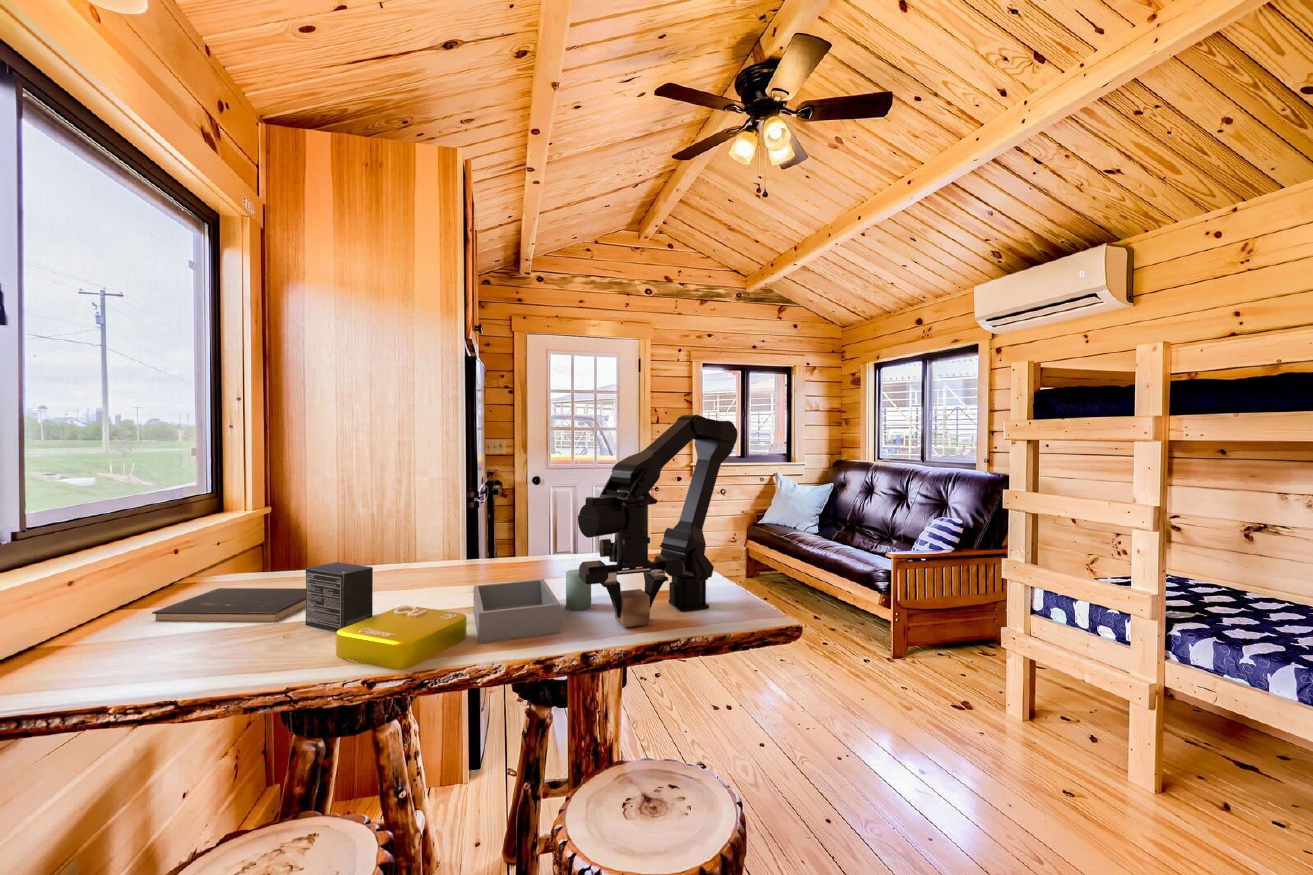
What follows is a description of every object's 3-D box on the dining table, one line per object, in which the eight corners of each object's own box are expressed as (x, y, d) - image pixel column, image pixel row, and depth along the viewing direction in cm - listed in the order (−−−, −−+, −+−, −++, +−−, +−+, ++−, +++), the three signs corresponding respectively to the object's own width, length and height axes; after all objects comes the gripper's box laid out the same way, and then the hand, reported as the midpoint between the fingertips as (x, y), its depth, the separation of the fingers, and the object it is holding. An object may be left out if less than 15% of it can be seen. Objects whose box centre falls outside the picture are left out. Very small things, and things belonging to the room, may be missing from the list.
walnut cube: (640, 615, 105) (640, 588, 105) (649, 623, 101) (649, 596, 101) (615, 618, 104) (615, 591, 103) (623, 627, 99) (623, 599, 99)
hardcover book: (274, 625, 103) (274, 612, 103) (152, 624, 103) (152, 612, 103) (327, 598, 119) (327, 587, 119) (221, 597, 119) (221, 587, 119)
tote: (543, 603, 114) (543, 579, 114) (560, 632, 98) (560, 604, 98) (473, 611, 109) (473, 585, 109) (479, 643, 93) (479, 613, 93)
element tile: (329, 659, 87) (329, 628, 87) (404, 627, 101) (404, 601, 101) (403, 674, 82) (403, 642, 82) (471, 638, 96) (471, 611, 96)
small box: (375, 622, 103) (375, 565, 103) (342, 634, 97) (342, 574, 97) (337, 614, 107) (337, 560, 107) (303, 625, 101) (303, 567, 101)
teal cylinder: (587, 602, 115) (587, 568, 115) (593, 609, 110) (593, 574, 110) (563, 604, 113) (563, 570, 113) (568, 612, 109) (568, 576, 108)
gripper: (663, 520, 113) (663, 597, 113) (572, 526, 106) (572, 607, 106) (685, 530, 102) (685, 614, 103) (586, 536, 96) (586, 627, 96)
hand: (632, 615), depth 102 cm, fingers closed on walnut cube, 5 cm apart
